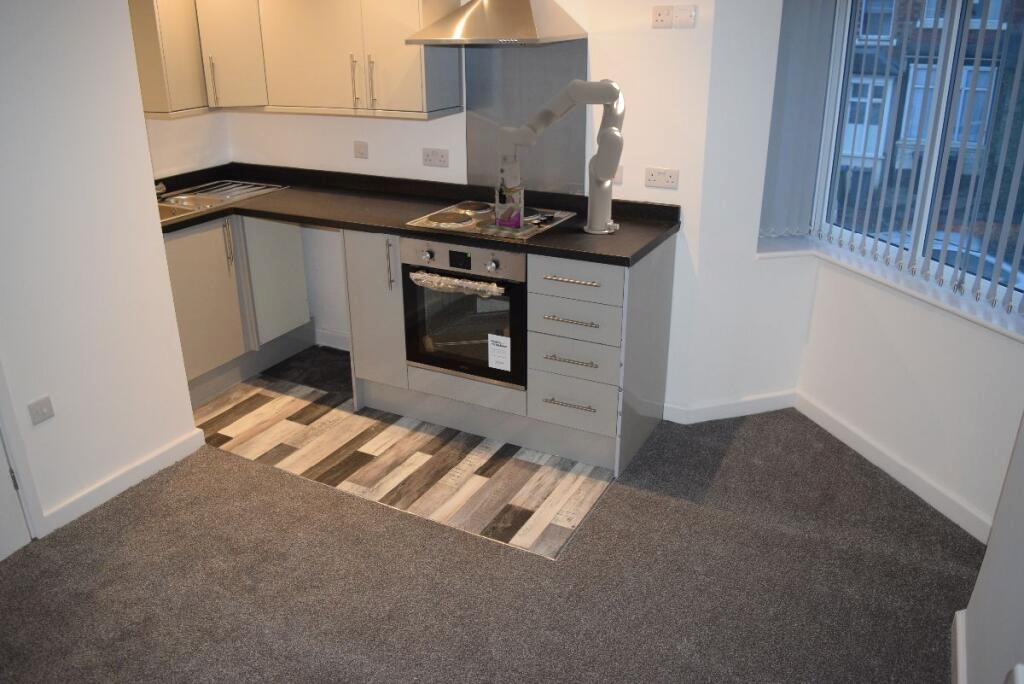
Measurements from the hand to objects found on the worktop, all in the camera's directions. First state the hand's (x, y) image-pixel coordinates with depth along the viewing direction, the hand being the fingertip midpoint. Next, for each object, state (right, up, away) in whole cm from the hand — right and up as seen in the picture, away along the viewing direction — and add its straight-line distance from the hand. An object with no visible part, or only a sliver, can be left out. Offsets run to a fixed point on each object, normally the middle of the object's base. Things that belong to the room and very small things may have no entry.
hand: (508, 201), depth 334 cm
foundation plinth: (0, -12, +5) cm, 13 cm away
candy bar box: (0, -10, +4) cm, 11 cm away
